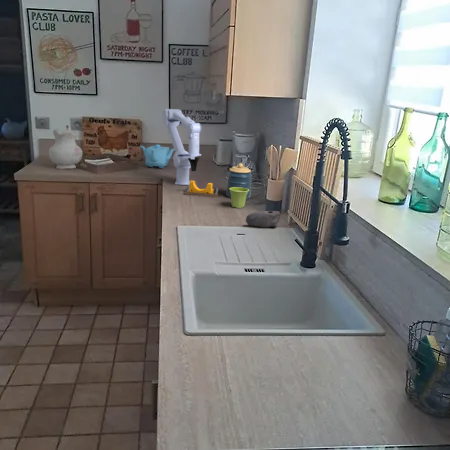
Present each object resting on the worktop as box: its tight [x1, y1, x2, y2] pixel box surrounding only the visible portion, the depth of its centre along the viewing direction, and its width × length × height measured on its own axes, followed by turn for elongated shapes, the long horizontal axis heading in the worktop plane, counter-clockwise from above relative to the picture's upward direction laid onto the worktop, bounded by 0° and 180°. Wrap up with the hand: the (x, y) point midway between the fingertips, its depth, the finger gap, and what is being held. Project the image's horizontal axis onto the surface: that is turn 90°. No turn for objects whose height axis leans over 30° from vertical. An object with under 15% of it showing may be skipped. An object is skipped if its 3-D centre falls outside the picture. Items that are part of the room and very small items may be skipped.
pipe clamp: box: [188, 179, 214, 194], centre depth 245 cm, size 12×4×6 cm, turn 70°
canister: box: [225, 162, 253, 200], centre depth 242 cm, size 13×13×18 cm
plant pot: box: [229, 187, 249, 209], centre depth 224 cm, size 9×9×9 cm
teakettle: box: [139, 144, 175, 169], centre depth 304 cm, size 19×19×15 cm
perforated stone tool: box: [245, 210, 281, 228], centre depth 197 cm, size 15×5×7 cm, turn 95°
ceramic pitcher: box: [48, 124, 83, 170], centre depth 285 cm, size 22×20×25 cm
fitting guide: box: [184, 186, 219, 198], centre depth 248 cm, size 16×17×2 cm
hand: (193, 171), depth 253 cm, fingers closed
